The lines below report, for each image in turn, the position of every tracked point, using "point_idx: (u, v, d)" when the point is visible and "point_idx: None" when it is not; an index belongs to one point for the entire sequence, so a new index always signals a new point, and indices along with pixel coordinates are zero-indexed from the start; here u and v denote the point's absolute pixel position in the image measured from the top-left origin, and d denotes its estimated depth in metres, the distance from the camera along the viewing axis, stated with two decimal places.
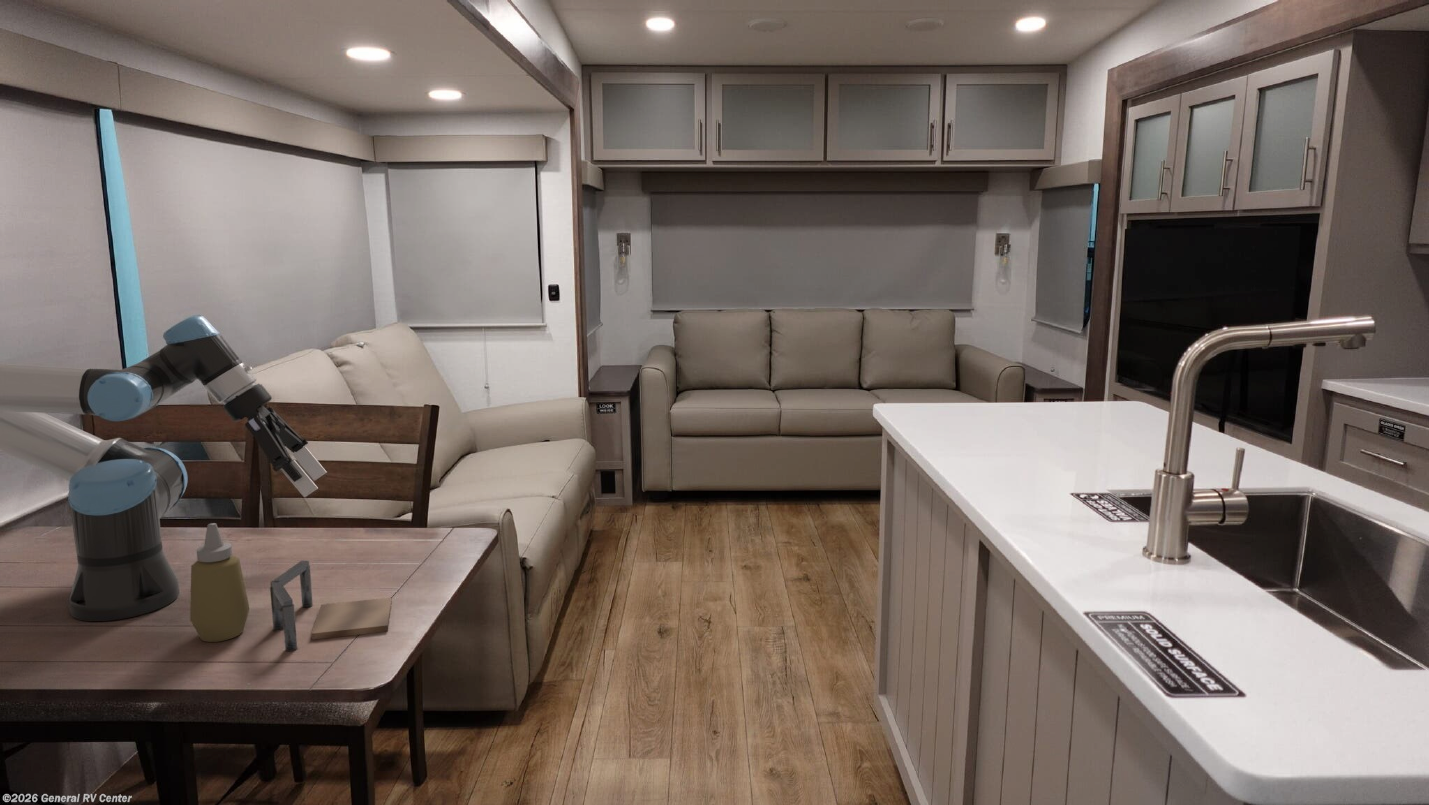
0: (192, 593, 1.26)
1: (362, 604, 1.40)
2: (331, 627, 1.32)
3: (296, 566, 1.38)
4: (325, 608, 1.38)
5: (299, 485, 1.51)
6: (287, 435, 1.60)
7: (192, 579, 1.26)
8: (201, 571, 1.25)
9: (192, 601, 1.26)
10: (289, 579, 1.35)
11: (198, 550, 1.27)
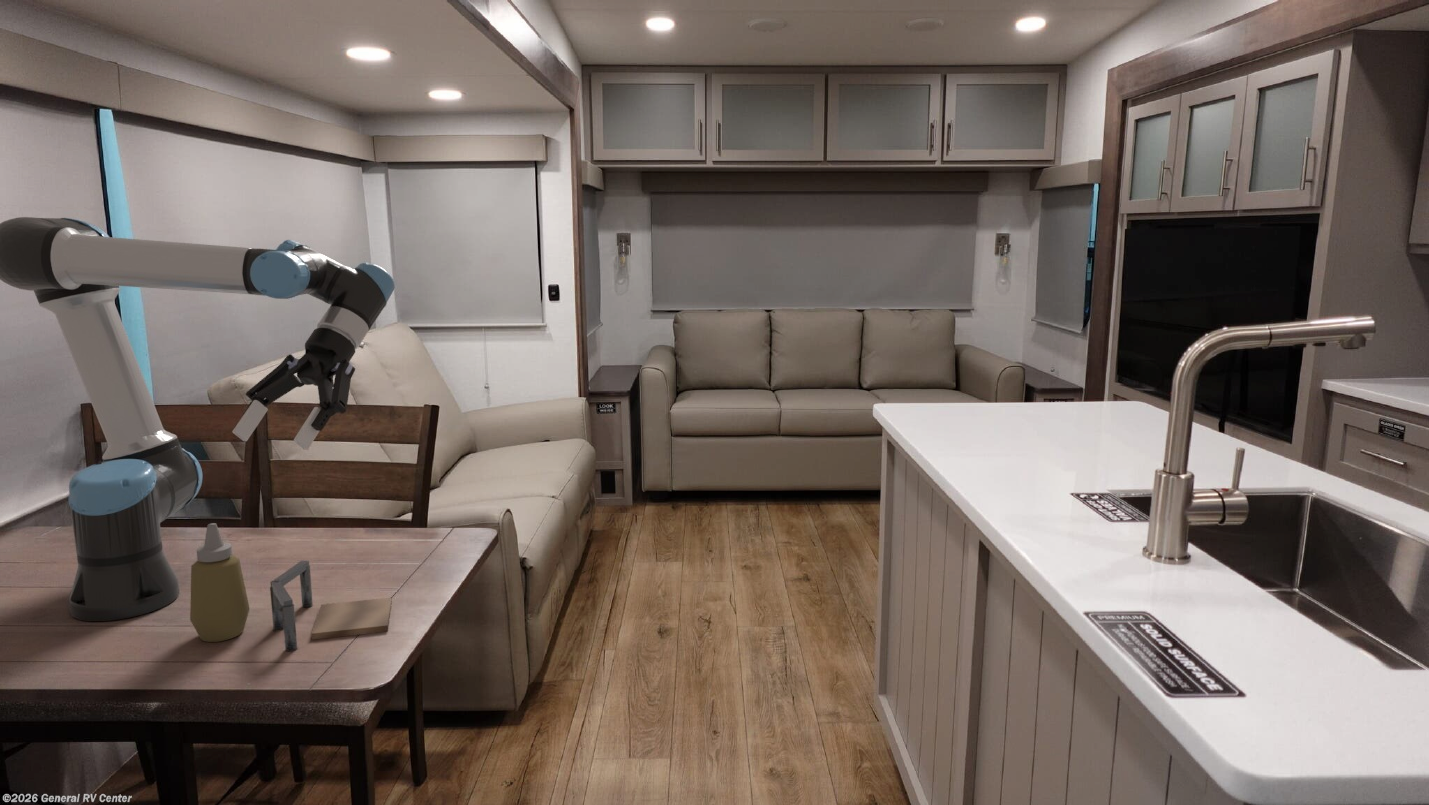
0: (192, 593, 1.26)
1: (362, 604, 1.40)
2: (331, 627, 1.32)
3: (296, 566, 1.38)
4: (325, 608, 1.38)
5: (307, 431, 1.33)
6: (286, 390, 1.43)
7: (192, 579, 1.26)
8: (201, 571, 1.25)
9: (192, 601, 1.26)
10: (289, 579, 1.35)
11: (198, 550, 1.27)
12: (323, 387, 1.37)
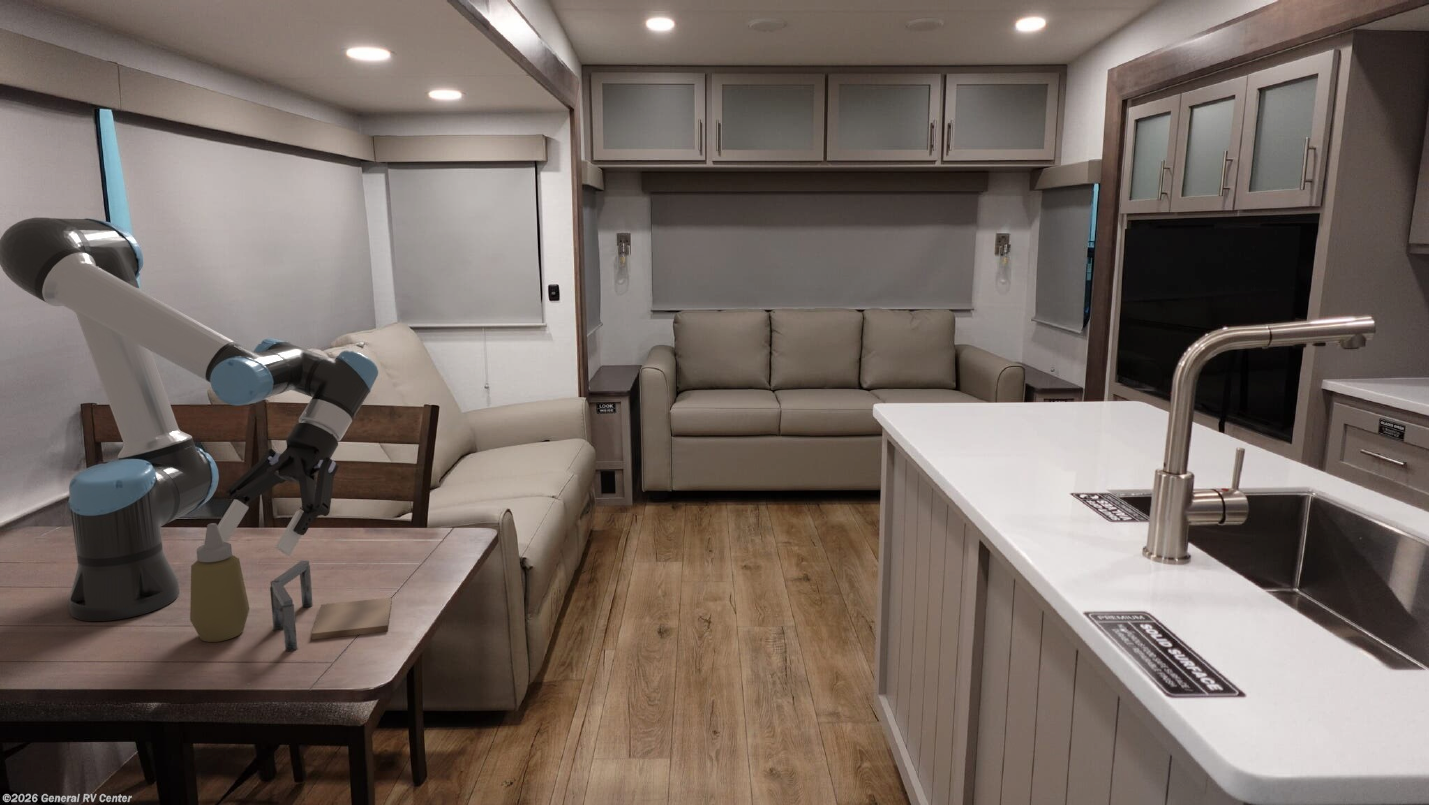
0: (192, 593, 1.26)
1: (362, 604, 1.40)
2: (331, 627, 1.32)
3: (296, 566, 1.38)
4: (325, 608, 1.38)
5: (289, 536, 1.30)
6: (267, 487, 1.39)
7: (192, 579, 1.26)
8: (201, 571, 1.25)
9: (192, 601, 1.26)
10: (289, 579, 1.35)
11: (198, 550, 1.27)
12: (305, 488, 1.34)
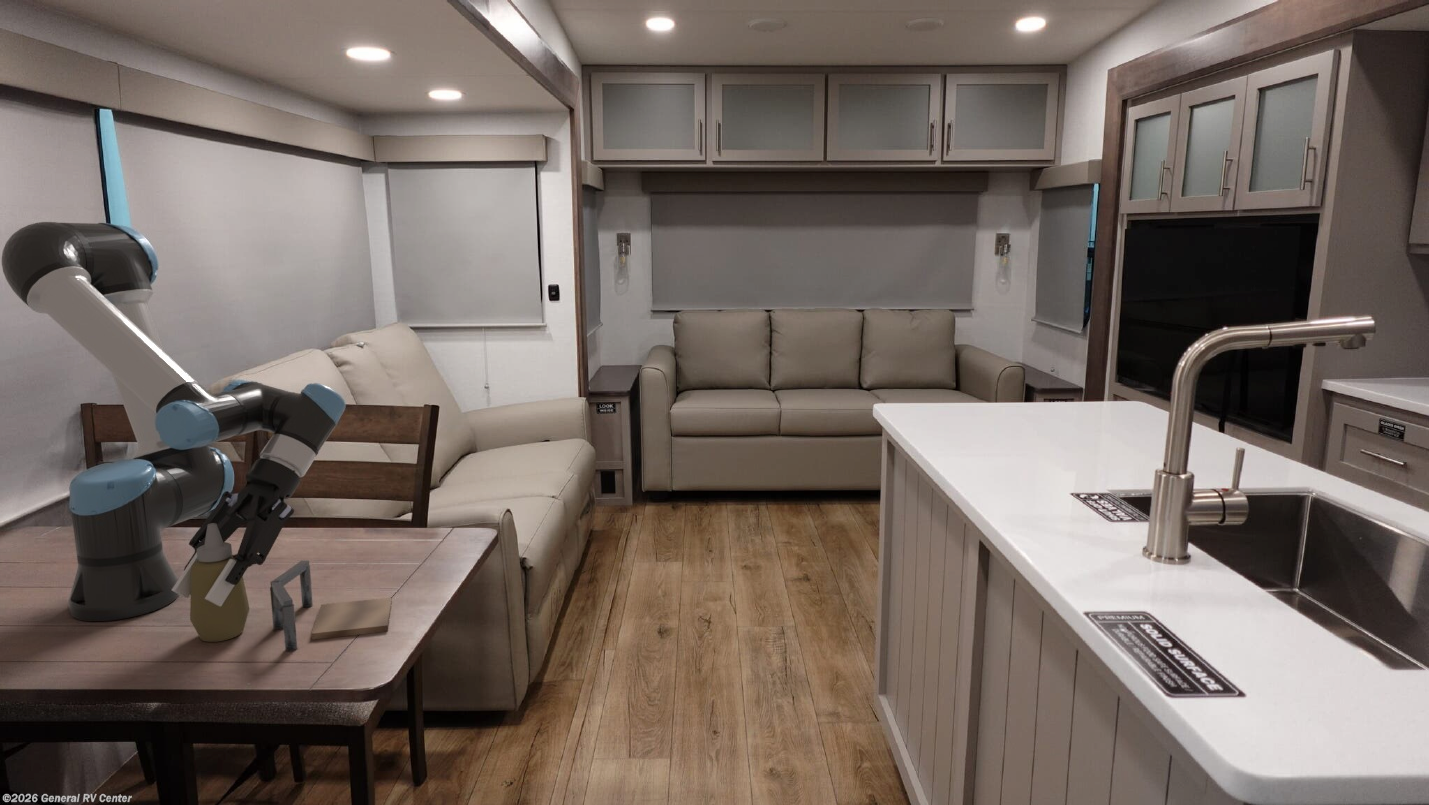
0: (192, 593, 1.26)
1: (362, 604, 1.40)
2: (331, 627, 1.32)
3: (296, 566, 1.38)
4: (325, 608, 1.38)
5: (220, 587, 1.25)
6: (231, 532, 1.33)
7: (192, 579, 1.26)
8: (201, 570, 1.25)
9: (192, 601, 1.26)
10: (289, 579, 1.35)
11: (198, 550, 1.27)
12: (249, 533, 1.29)
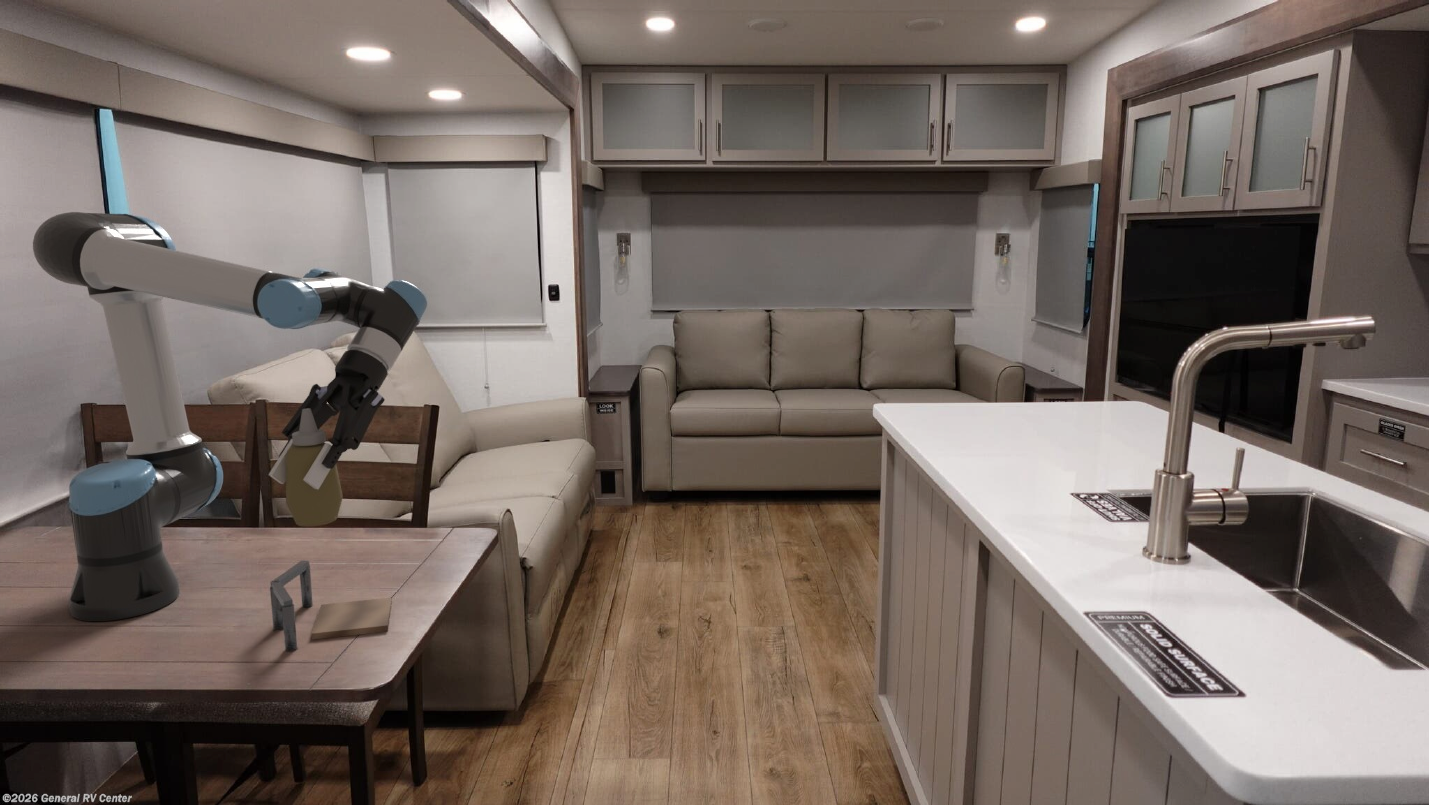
0: (289, 477, 1.27)
1: (362, 604, 1.40)
2: (331, 627, 1.32)
3: (296, 566, 1.38)
4: (325, 608, 1.38)
5: (317, 469, 1.26)
6: (322, 422, 1.34)
7: (288, 463, 1.27)
8: (297, 453, 1.26)
9: (289, 485, 1.27)
10: (289, 579, 1.35)
11: (294, 434, 1.27)
12: (342, 420, 1.30)
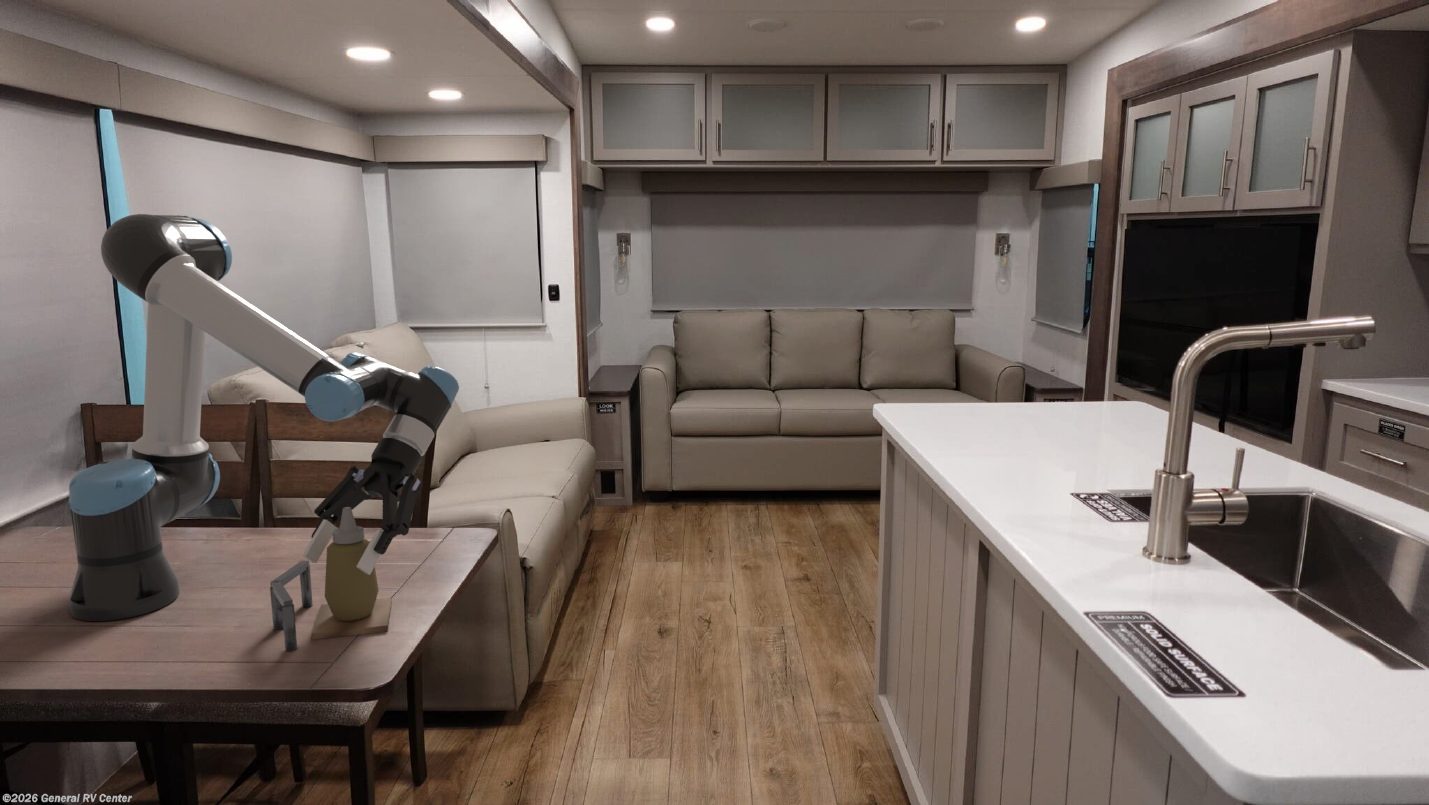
0: (329, 574, 1.32)
1: None
2: (331, 627, 1.32)
3: (296, 566, 1.38)
4: (325, 608, 1.38)
5: (369, 556, 1.30)
6: (354, 505, 1.39)
7: (329, 560, 1.32)
8: (338, 552, 1.31)
9: (328, 581, 1.32)
10: (289, 579, 1.35)
11: (334, 532, 1.32)
12: (388, 506, 1.35)
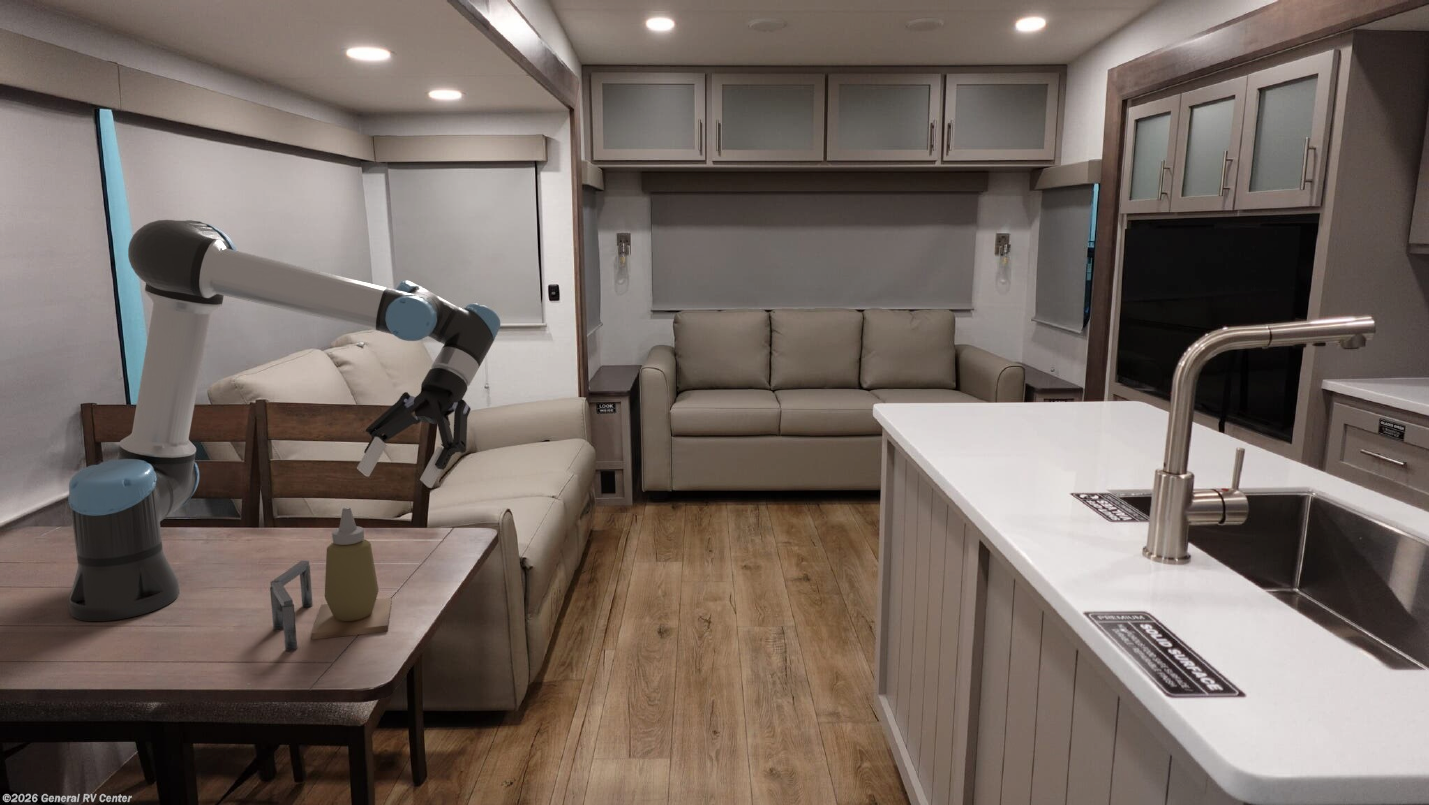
0: (328, 574, 1.32)
1: None
2: (331, 627, 1.32)
3: (296, 566, 1.38)
4: (325, 608, 1.38)
5: (431, 470, 1.40)
6: (404, 427, 1.50)
7: (329, 561, 1.32)
8: (338, 552, 1.31)
9: (328, 582, 1.32)
10: (289, 579, 1.35)
11: (334, 533, 1.32)
12: (443, 427, 1.45)
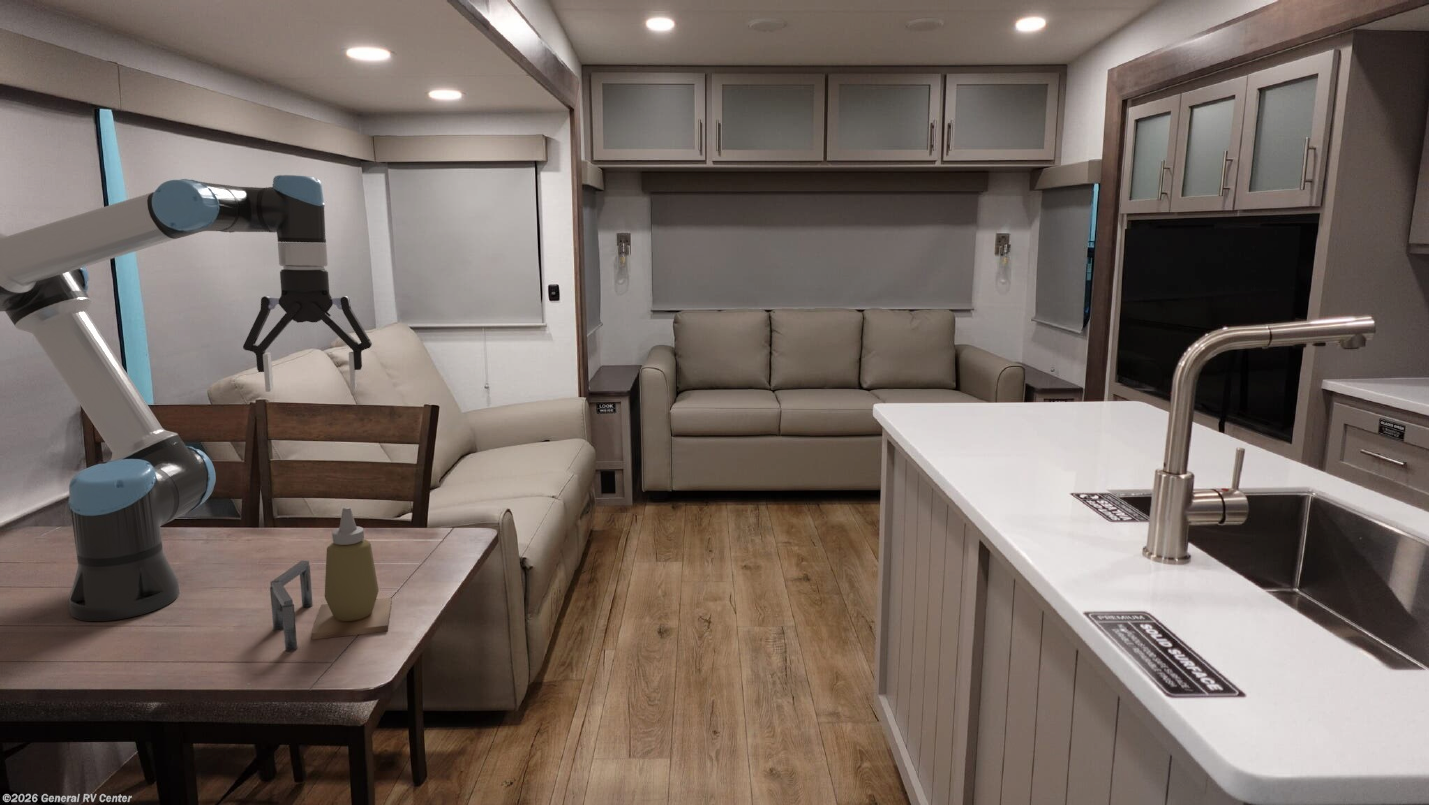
0: (328, 574, 1.32)
1: None
2: (331, 627, 1.32)
3: (296, 566, 1.38)
4: (325, 608, 1.38)
5: (354, 375, 1.50)
6: (281, 331, 1.46)
7: (329, 561, 1.32)
8: (338, 553, 1.31)
9: (328, 582, 1.32)
10: (289, 579, 1.35)
11: (334, 533, 1.32)
12: (341, 331, 1.47)
